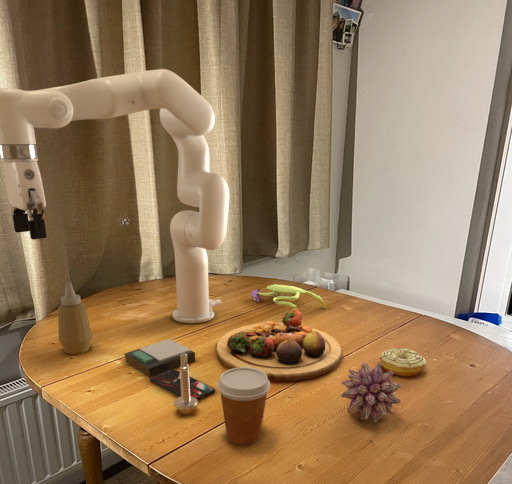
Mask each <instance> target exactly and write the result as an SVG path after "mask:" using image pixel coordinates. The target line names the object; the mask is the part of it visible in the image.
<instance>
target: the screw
mask: <svg viewBox="0 0 512 484" xmlns="http://www.w3.org/2000/svg"><path fill="white" fill-rule="evenodd" d="M180 356H181V366H180V367H179V372H180V374H181V375H180V376H181V377H180V379H181V380H180V381H181V383H180V384H181V392H182V393H181V395H182V396H181V397H179V396H178V397H177V398H176V399H175V400H174V401H173V407H174V408H175V409H177V410H178V412H179V413H180V414H181V415H182V416H185V415H191V414H192V413H193V412H194V409H195V408H196V407H198V405H199V400H197V399H196V398H194V397H192V396H190V386H189V385H190V381H189V380H190V378H189V377H191V376H190V367H189V366H190V365H189V364H188V361H187V354H185V353H183V354H181V355H180Z"/></svg>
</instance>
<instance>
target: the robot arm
mask: <svg viewBox="0 0 512 484" xmlns="http://www.w3.org/2000/svg"><path fill="white" fill-rule="evenodd" d="M149 110H150V111H151V110H159V121H160V124H161V126H162V127H163V128H164V130H165V131H166V132H167V133H168V134H169V135H170V137H171V138H172V140H173V141H174V143H175V145H176V148H177V155H178V156H177V158H178V159H177V161H178V164H177V180H176V194H177V195H176V196H177V198H178V200H179V201H180V202H181V203H182V204H184V205H185V206H190V207H195V208H199V209H198V211H195V210H189V209H188V210H181V211H178V212H177V213H175V215H173V217H172V218H171V221H170V224H169V232H170V233H169V234H170V238H171V242H172V246H173V253H174V269H175V270H174V271H175V284H176V285H175V288H176V309H175V310H174V311H173V312H172V314H171V315H172V319H173V320H174V321H176V322H179V323H183V324H199V323H200V324H201V323H206V322H209V321H211V320H212V319H214V317H215V311H214V310H213V308H215V307H218V306H221V305H222V300H221V299H220V298H218V299H214V300H213V299H212V298H209V297H210V293H209V257H208V253H207V251H215V250H217V249H219V248H220V247H221V246H222V245H223V243H224V242H225V240H226V236H227V230H228V221H229V220H228V219H229V210H230V209H229V207H230V189H229V185H228V183H227V181H226V179H225V178H224V177H223V176H222V175H221V174H218V173H215V172H211V171H210V148H209V145H208V142H207V139H206V137H205V135H207V134H209V133H210V132H211V131H212V130H213V129H214V126H215V121H216V116H215V112H214V108H213V107H212V105H211V104H210V103H209V101H208V100H207V99H206V98H205V97H203V96H202V95H201V94H200V93H199V92H198V91H197V90H196V89H194V88H193V87H192V85H190V84H189V83H188V82H187V81H185V80H184V79H183V78H182V77H180V75H178V74H177V73H175V72H173V71H172V70H170V69H166V68H159V69H151V70H141V71H137V72H136V71H135V72H128V73H122V74H117V75H110V76H104V77H97V78H92V79H88V80H85V81H81V82H77V83H72V84H66V85H61V86H55V87H50V88H43V89H42V88H41V89H36V90H35V89H34V90H23V89H20V88H8V87H0V162H3V172H4V181H5V186H6V187H5V189H6V194H7V200H8V203H9V205H10V206H11V208H10V212H11V217H12V222H13V229H14V232H15V233H26V232H29V236H30V239H31V240H40V239H41V240H42V239H46V238H47V230H46V222H45V215H44V213H45V209H46V207H47V202H46V195H45V190H44V184H43V180H42V175H41V172H40V167H39V164H38V161H39V154H38V148H37V141H36V140H37V139H36V133H35V128H36V129H60V128H64V127H65V126H68V124H70V123H71V122H73V121H81V120H105V119H113V118H117V117H122V116H127V115H131V114H135V113H141V112H144V111H149Z"/></svg>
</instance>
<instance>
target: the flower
mask: <svg viewBox="0 0 512 484" xmlns="http://www.w3.org/2000/svg"><path fill="white" fill-rule="evenodd" d="M381 364H382V363H381V362H380V361H379V362H377V365H375V367H373V369H372V368H371V366H370V365H368V361H364V362H362V363H361V366H360V367H361V368H359V369H357V371H355V370H354V369H352V368H349V369H348V373H349V374H348V375H347V378H348V379H345V380H341V382H340V383H341V385H344V386H345V387H346V388H347V390H345V391H343V392H342V393H341V394H340V396H341V398H346V399H349V400H350V402H349V406H348V407H347V409H346V411H347V412H348V413H349V414H351V413H353V412H357V411H359V412H360V420H363V421H365V420H366V421H367V419H369V417H370V416H371V418H372V419H373V421H374V423H375V422H378V420H380V419H382V416H383V417H385V416H387V414H390V415H394V412H393V411H392V409H391V408H393V407H394V405H398V404H401V402H402V399H400V398H398V396H396V394H394V393H395V392H398V390H399V389H400V388H403V386H402V383H397V382H393V381H392V378H393V375H395V374H394V372H393V371H390V372H388V371H386V372H383V369H382V365H381Z"/></svg>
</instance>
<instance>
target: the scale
mask: <svg viewBox="0 0 512 484" xmlns="http://www.w3.org/2000/svg"><path fill="white" fill-rule="evenodd" d="M183 353H185V354H187V361H188V365H189V364H191V363H194V362H196V352H195V351H193V350H192V349H191V348H189V347H186V345H183V344H181V343H179V342H177V341H175V340H174V339H171V338H168V339H165V340H162V341H157V342H155V343H152V344H149V345H146V346H145V345H144V346H143V347H140V348H136V349H134V350H131V351H128V352H124V361H125V363H126V364H128V365H129V366H131V367H133V368H134V369H135V370H137V371H139V372H140V373H141V374H143V375H145V376H146V377H148V378H151V377H153V376H156V375H158V374H160V373H163V372H165V371H168V370H170V369H175V370H176V369H178V368H180V366H181V356H180V355H181V354H183Z"/></svg>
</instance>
